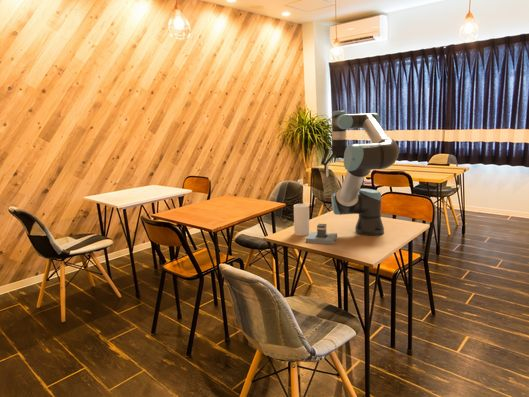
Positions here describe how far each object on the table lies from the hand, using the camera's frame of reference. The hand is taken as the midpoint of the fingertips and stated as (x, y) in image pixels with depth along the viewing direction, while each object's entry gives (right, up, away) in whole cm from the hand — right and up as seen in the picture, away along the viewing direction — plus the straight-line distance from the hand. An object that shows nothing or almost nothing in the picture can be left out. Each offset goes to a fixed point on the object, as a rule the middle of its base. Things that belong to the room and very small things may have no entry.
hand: (339, 176), depth 222 cm
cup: (-22, -32, -6) cm, 39 cm away
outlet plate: (-13, -34, -18) cm, 40 cm away
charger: (-12, -34, -18) cm, 40 cm away
